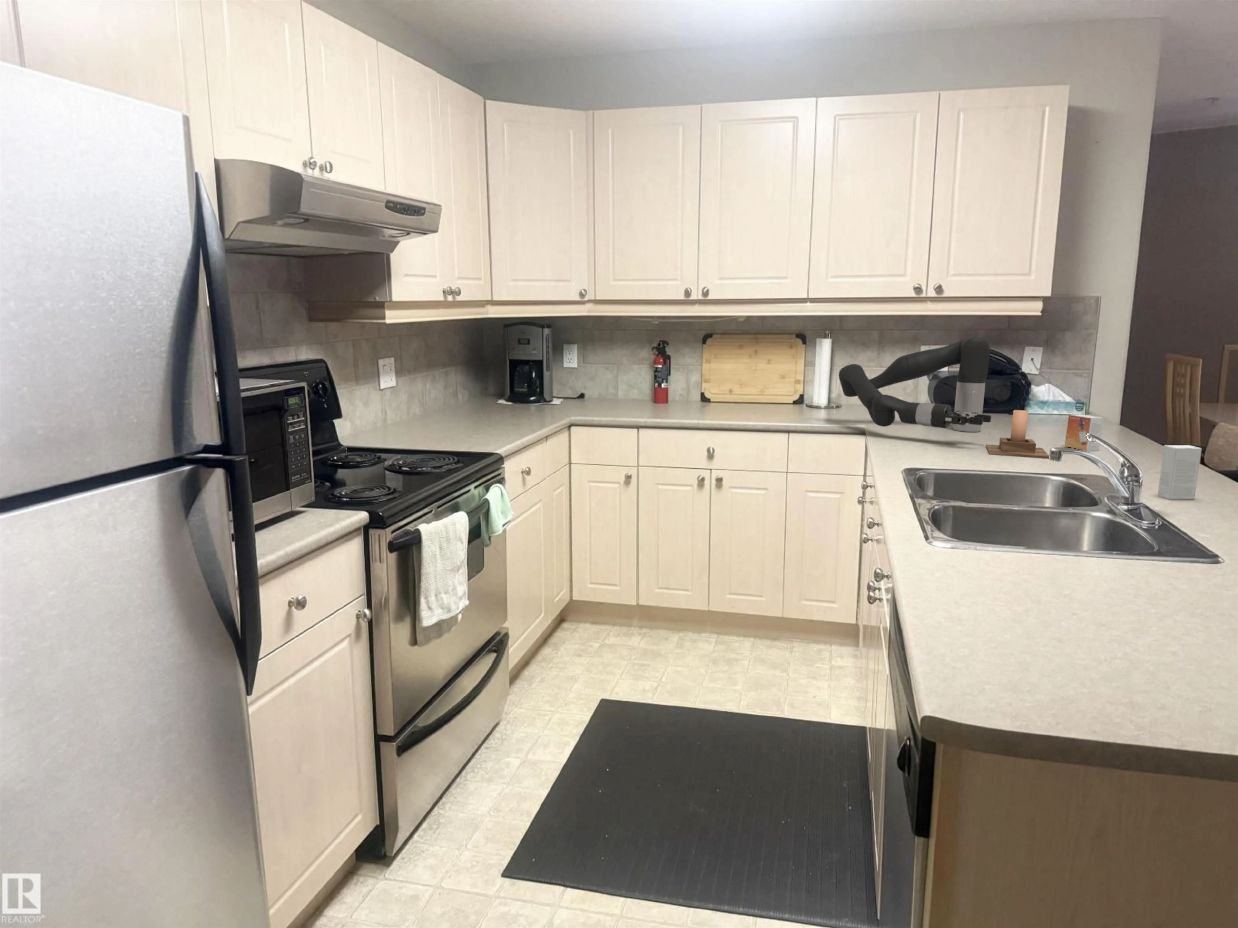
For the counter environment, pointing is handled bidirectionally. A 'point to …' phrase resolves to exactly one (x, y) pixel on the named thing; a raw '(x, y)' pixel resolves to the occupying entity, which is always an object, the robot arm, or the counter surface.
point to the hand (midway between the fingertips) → (986, 420)
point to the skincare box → (1179, 472)
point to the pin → (1019, 426)
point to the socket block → (1017, 449)
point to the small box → (1083, 431)
